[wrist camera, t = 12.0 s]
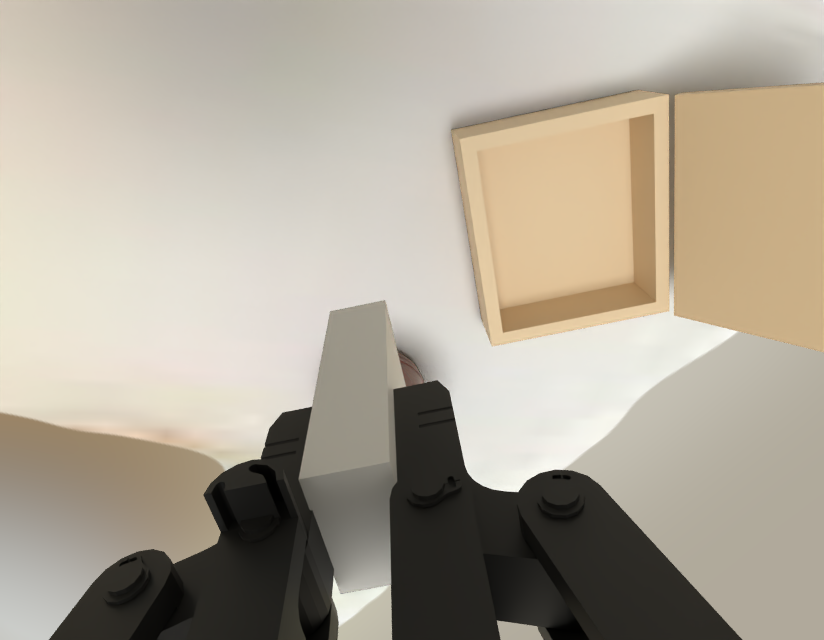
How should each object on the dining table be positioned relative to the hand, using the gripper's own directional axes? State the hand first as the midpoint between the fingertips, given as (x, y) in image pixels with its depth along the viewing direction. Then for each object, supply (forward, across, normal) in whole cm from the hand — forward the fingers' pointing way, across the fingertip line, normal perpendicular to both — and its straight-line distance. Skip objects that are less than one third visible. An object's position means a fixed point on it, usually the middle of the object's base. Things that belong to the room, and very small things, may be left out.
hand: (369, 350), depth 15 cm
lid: (+19, +24, -7) cm, 31 cm away
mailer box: (+30, +13, -7) cm, 34 cm away
